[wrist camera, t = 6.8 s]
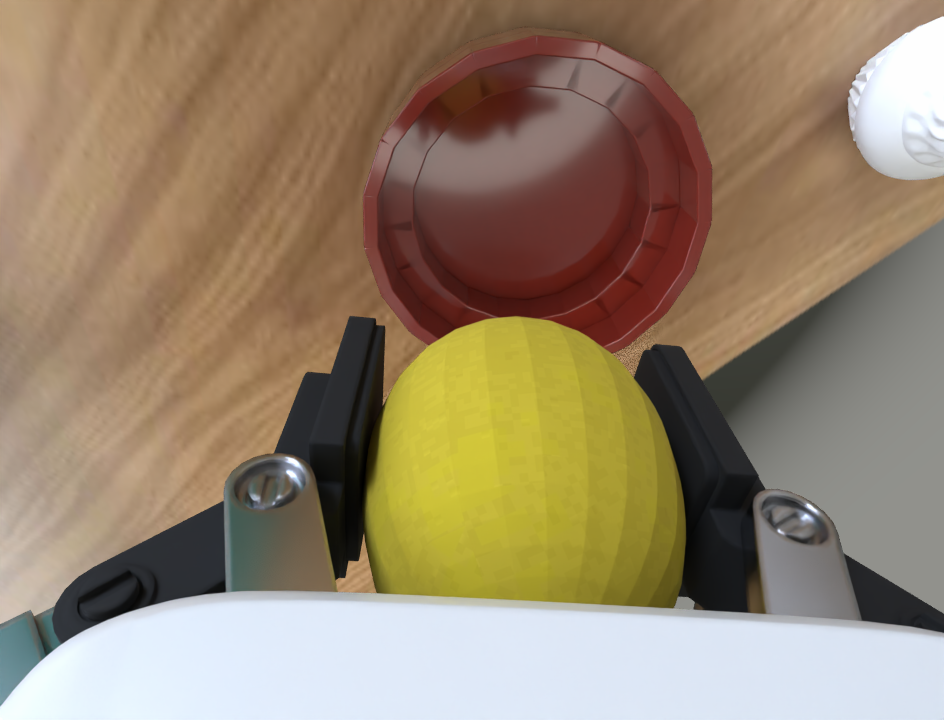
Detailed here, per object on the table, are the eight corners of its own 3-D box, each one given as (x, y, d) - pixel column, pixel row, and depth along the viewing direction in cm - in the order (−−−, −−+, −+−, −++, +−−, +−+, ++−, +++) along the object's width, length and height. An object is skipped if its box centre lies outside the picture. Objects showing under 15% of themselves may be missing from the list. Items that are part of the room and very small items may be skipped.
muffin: (979, 90, 25) (1136, 123, 19) (846, 185, 28) (951, 239, 22) (932, -33, 23) (1096, -38, 17) (789, 83, 25) (891, 113, 19)
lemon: (567, 459, 16) (647, 817, 9) (369, 420, 15) (295, 786, 8) (658, 287, 13) (878, 629, 6) (416, 222, 12) (361, 544, 5)
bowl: (600, -51, 22) (633, -59, 18) (711, 242, 29) (754, 286, 25) (315, 145, 26) (288, 177, 22) (474, 363, 33) (476, 418, 29)
